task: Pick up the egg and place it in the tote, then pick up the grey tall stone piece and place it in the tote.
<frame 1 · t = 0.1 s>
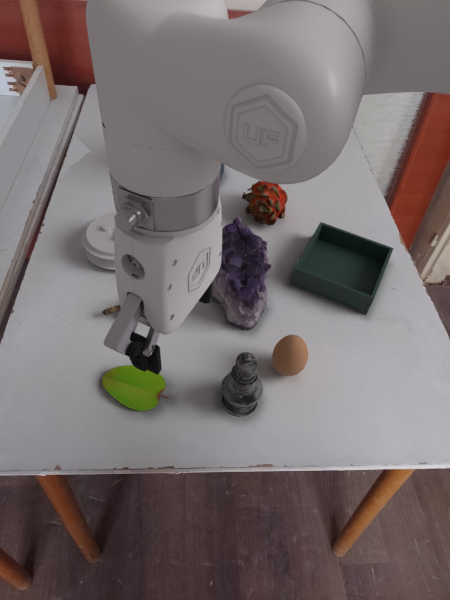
hand: (173, 329, 45), 22 cm above the table, tool pointing down, fingers open, 9 cm apart
grey tall stone piece: (239, 400, 65), on the table
lid: (120, 249, 84), on the table
canister: (194, 174, 100), on the table
geode: (238, 285, 80), on the table
decorative leaf: (135, 390, 65), on the table
cat figurine: (127, 314, 74), on the table
tote: (339, 273, 83), on the table
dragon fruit: (263, 215, 92), on the table
egg: (285, 370, 69), on the table
bowl: (263, 128, 115), on the table
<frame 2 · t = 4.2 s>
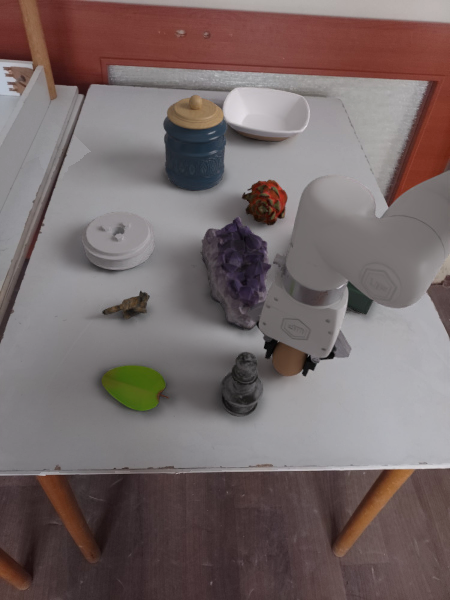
hand: (288, 359, 67), 3 cm above the table, tool pointing down, fingers closed on egg, 5 cm apart
egg: (285, 370, 69), on the table, touching gripper
everything else where it was.
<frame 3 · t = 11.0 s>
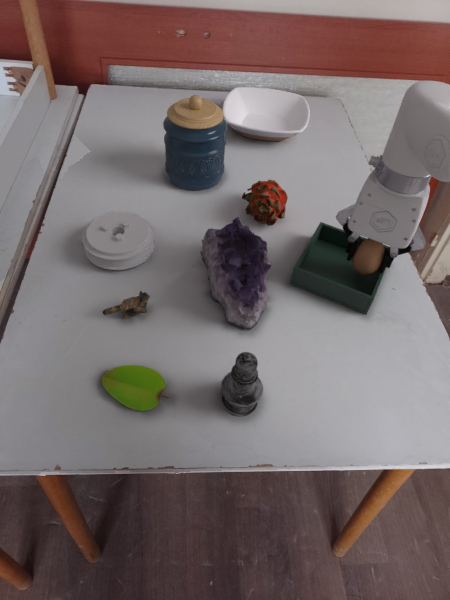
hand: (366, 261, 79), 4 cm above the table, tool pointing down, fingers closed on egg, 5 cm apart
egg: (361, 272, 81), point 1 cm above the table, touching gripper
everything else where it was.
when the fingers open (5 cm above the table, at t = 16.6 s): egg drops 1 cm, resting on tote.
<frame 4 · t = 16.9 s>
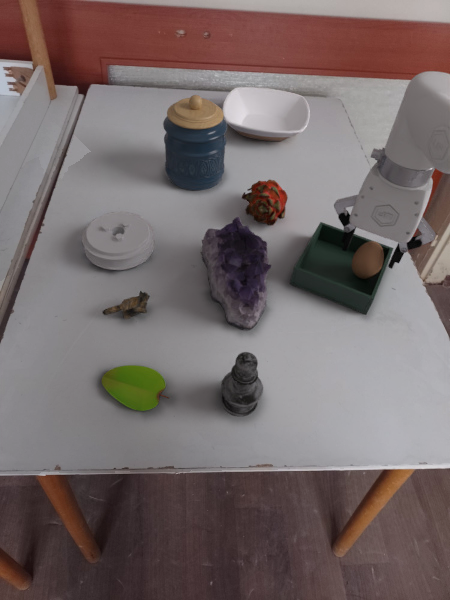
hand: (368, 254, 78), 6 cm above the table, tool pointing down, fingers open, 7 cm apart
egg: (360, 276, 82), resting on tote
everything else where it was.
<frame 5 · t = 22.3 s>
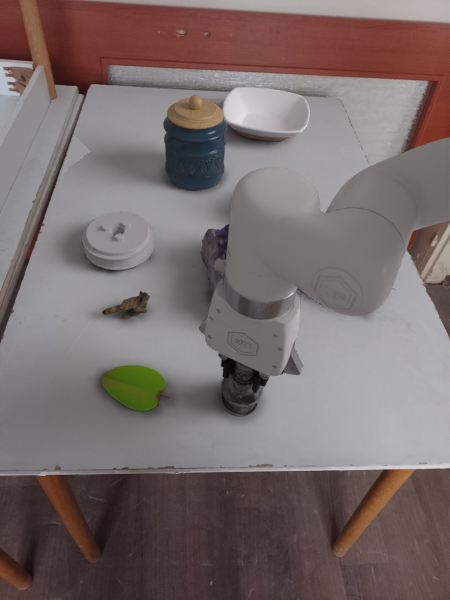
hand: (244, 376, 60), 7 cm above the table, tool pointing down, fingers closed on grey tall stone piece, 3 cm apart
grey tall stone piece: (239, 400, 65), on the table, touching gripper
everything else where it was.
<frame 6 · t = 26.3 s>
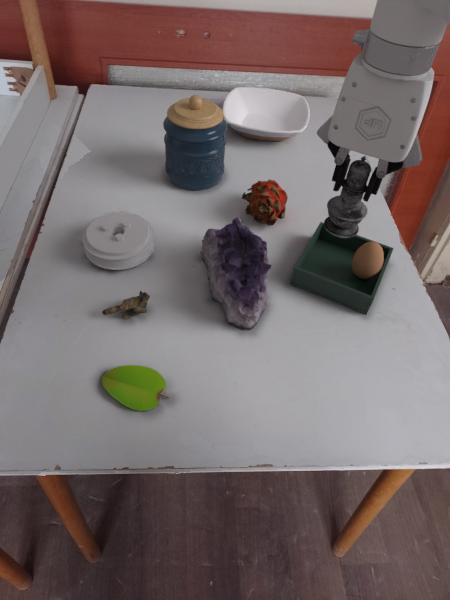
hand: (353, 190, 63), 22 cm above the table, tool pointing down, fingers closed on grey tall stone piece, 3 cm apart
grey tall stone piece: (340, 227, 68), point 15 cm above the table, touching gripper
everything else where it was.
when the fingers open (7 cm above the table, at t = 30.1 s): grey tall stone piece stays where it is, resting on tote.
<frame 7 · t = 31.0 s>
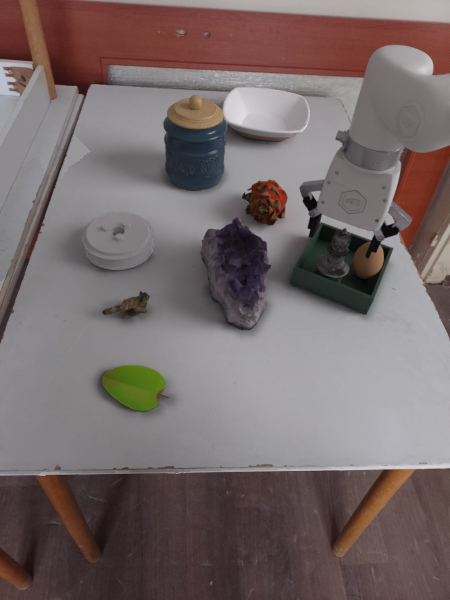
hand: (340, 242, 74), 10 cm above the table, tool pointing down, fingers open, 9 cm apart
grey tall stone piece: (327, 279, 81), resting on tote
everything else where it was.
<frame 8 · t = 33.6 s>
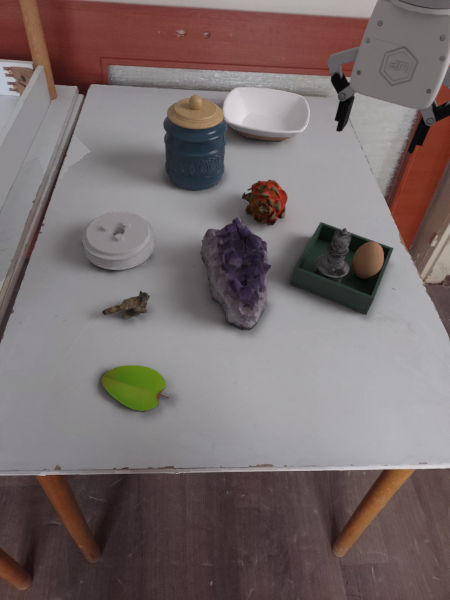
hand: (376, 137, 60), 28 cm above the table, tool pointing down, fingers open, 9 cm apart
nothing on the table moved.
at the end: egg inside the target area in the tote (3.9 cm from its centre), point 0.4 cm above the tote's base; grey tall stone piece inside the target area in the tote (3.4 cm from its centre), point 0.4 cm above the tote's base; grey tall stone piece tilted 0° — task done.
